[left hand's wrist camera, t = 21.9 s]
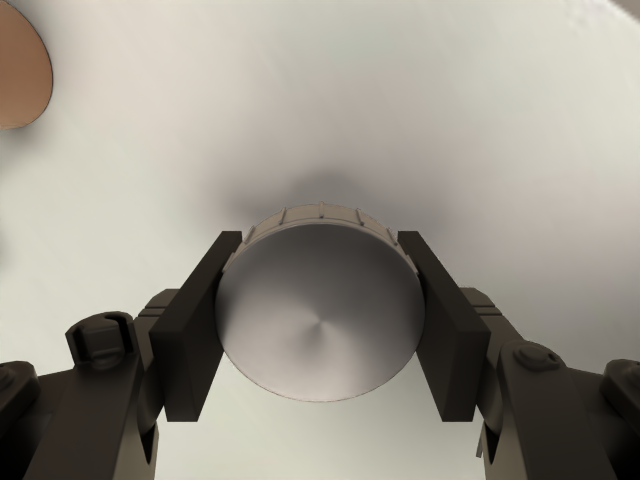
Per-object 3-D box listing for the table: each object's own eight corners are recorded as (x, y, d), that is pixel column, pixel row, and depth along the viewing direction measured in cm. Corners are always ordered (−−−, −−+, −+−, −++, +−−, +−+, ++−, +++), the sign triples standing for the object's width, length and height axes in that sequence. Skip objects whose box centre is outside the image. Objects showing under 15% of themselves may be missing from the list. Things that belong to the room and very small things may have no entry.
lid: (186, 284, 12) (165, 314, 10) (328, 157, 10) (330, 168, 9) (312, 392, 14) (310, 433, 12) (449, 297, 12) (470, 329, 11)
